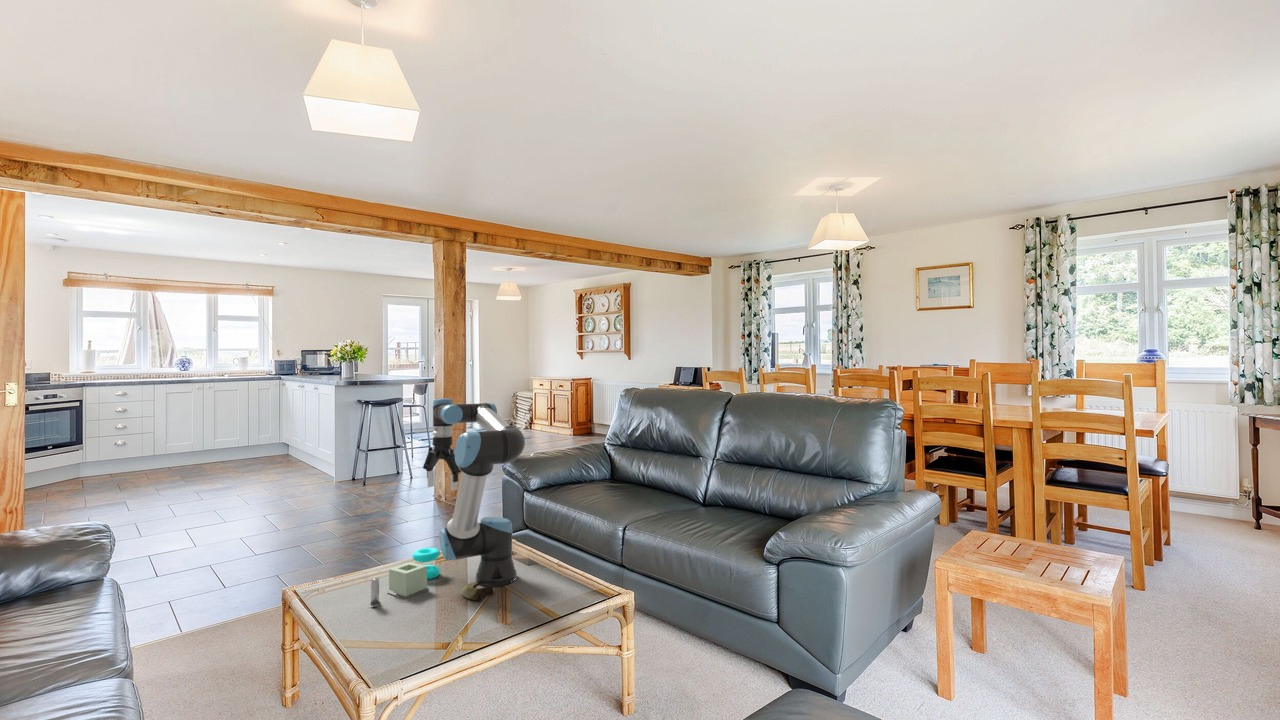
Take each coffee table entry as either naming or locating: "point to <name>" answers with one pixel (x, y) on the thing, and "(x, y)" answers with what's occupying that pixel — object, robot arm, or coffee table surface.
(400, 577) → the sage cube with slot
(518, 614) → the coffee table surface
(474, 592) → the claw
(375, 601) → the post stand
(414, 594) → the mat
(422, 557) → the donuts
